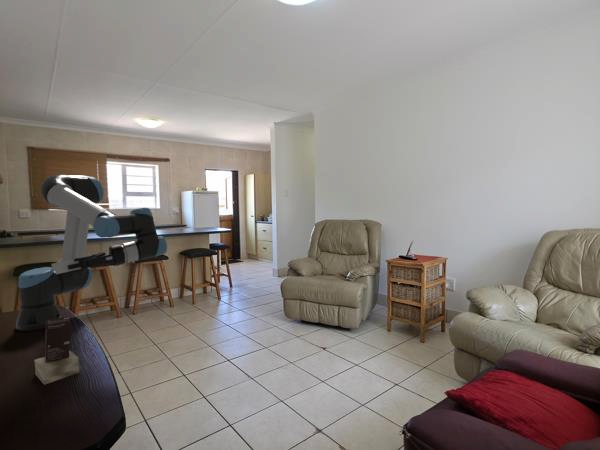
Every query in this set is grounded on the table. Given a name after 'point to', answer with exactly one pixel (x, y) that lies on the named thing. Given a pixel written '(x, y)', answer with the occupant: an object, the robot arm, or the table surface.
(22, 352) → the table surface
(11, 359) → the table surface
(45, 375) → the ash block
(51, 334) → the box
